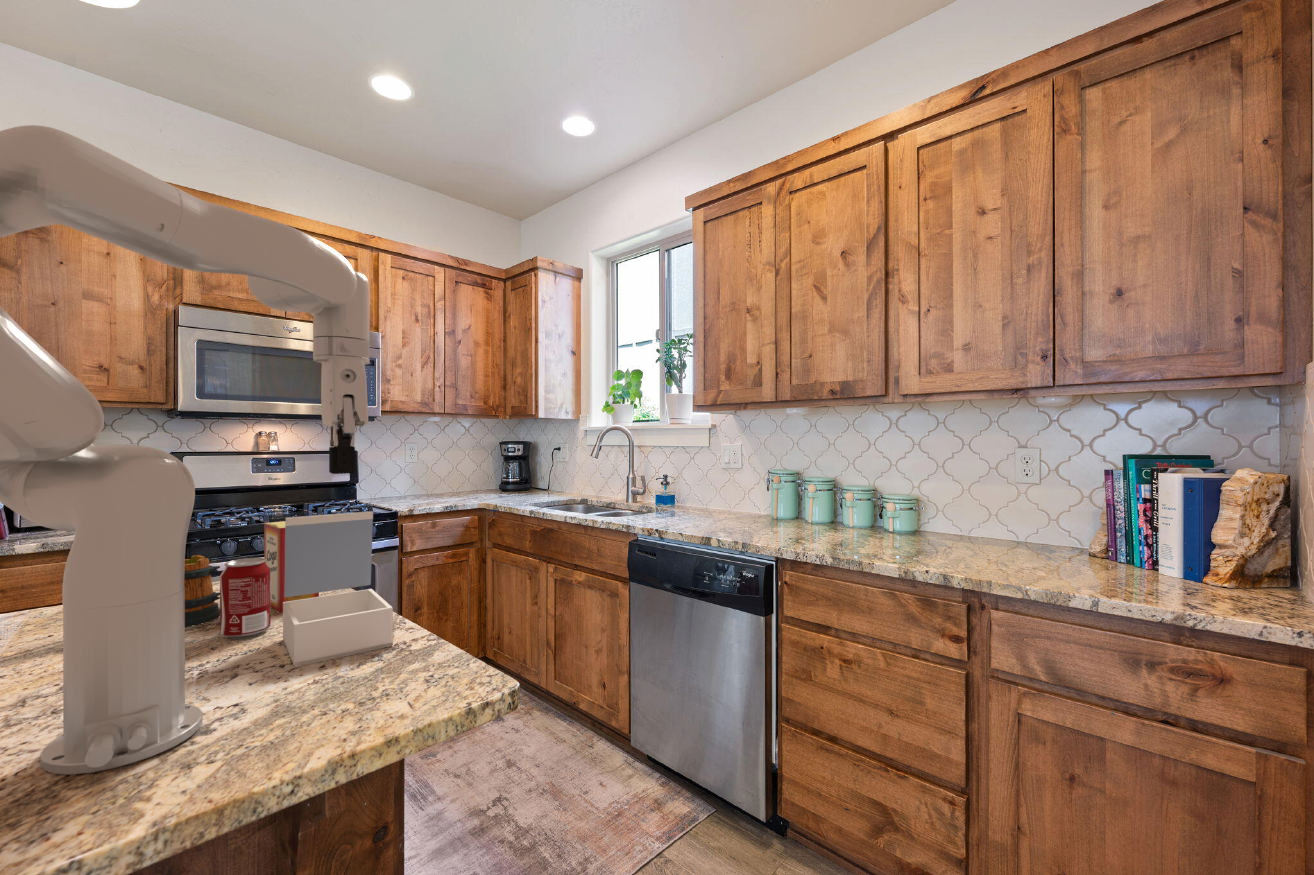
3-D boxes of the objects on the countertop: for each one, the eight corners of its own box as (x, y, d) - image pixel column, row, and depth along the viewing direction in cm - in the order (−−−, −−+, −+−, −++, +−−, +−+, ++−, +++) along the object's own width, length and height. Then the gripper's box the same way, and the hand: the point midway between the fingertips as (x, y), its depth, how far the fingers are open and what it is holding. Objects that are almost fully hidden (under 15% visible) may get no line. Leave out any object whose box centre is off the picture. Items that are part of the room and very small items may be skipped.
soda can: (275, 633, 94) (275, 561, 94) (224, 644, 90) (224, 568, 90) (264, 624, 99) (264, 555, 99) (216, 634, 94) (215, 561, 94)
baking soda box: (264, 603, 112) (264, 521, 112) (301, 596, 117) (301, 517, 117) (279, 613, 105) (279, 526, 105) (318, 605, 110) (318, 522, 110)
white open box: (392, 646, 89) (392, 607, 89) (294, 667, 81) (294, 624, 81) (371, 623, 100) (371, 588, 100) (283, 639, 92) (283, 602, 92)
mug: (214, 607, 109) (214, 547, 109) (230, 618, 102) (230, 554, 102) (121, 625, 99) (121, 558, 99) (133, 638, 92) (133, 567, 92)
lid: (373, 512, 98) (372, 511, 98) (285, 518, 90) (285, 517, 91) (370, 584, 99) (369, 583, 100) (284, 597, 92) (284, 596, 92)
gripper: (380, 349, 84) (381, 475, 84) (358, 359, 95) (358, 470, 95) (321, 344, 79) (322, 477, 79) (306, 355, 91) (306, 471, 91)
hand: (342, 473), depth 87 cm, fingers closed
